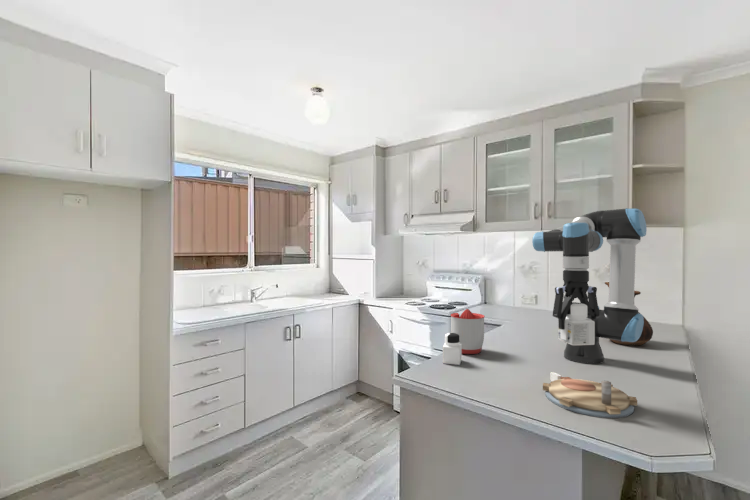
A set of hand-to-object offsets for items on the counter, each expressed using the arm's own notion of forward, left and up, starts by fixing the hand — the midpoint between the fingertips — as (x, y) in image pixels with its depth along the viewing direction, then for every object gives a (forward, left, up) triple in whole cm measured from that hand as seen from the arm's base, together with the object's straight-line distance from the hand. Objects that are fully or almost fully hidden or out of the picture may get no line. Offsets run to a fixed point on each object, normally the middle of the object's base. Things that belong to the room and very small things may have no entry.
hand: (575, 338), depth 119 cm
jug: (-55, +71, -19) cm, 92 cm away
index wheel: (+5, 0, -17) cm, 18 cm away
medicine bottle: (-39, -28, -19) cm, 51 cm away
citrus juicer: (-54, -15, -19) cm, 59 cm away
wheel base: (+2, 0, -18) cm, 18 cm away
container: (0, 0, -1) cm, 1 cm away
